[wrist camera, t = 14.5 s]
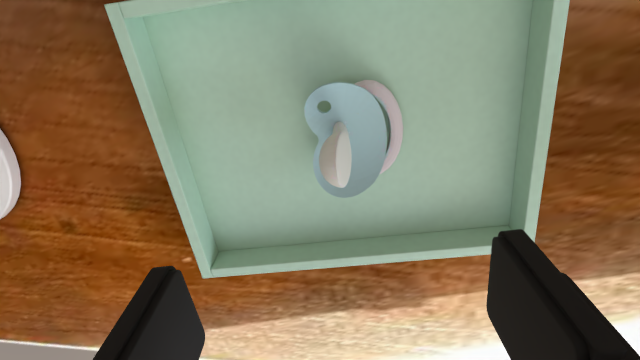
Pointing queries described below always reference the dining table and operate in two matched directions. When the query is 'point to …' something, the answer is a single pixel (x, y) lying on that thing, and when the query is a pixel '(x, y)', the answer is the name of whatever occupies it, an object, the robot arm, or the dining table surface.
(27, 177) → the dining table surface
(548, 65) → the tray
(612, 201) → the dining table surface
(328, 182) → the pacifier
